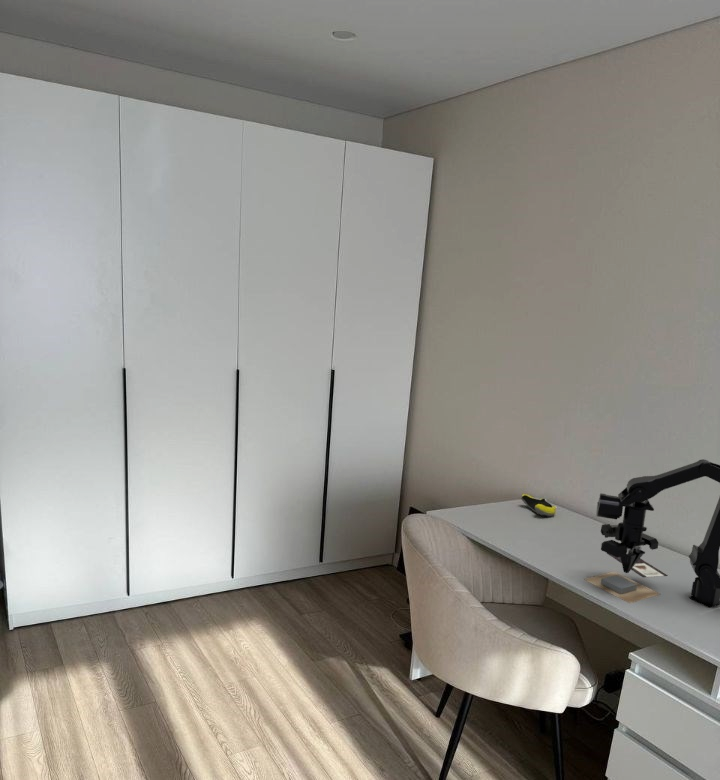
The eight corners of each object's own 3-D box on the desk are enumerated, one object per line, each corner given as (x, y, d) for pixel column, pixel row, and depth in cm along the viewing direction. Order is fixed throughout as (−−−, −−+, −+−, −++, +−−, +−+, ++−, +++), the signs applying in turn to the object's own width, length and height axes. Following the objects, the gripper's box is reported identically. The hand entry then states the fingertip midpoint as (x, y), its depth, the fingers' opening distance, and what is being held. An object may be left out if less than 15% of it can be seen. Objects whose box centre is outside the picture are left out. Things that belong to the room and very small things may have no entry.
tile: (637, 584, 189) (621, 588, 185) (636, 590, 189) (620, 594, 186) (617, 574, 195) (601, 578, 191) (616, 580, 195) (600, 584, 192)
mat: (660, 595, 188) (660, 594, 188) (629, 604, 181) (629, 603, 181) (614, 572, 202) (614, 571, 201) (583, 580, 194) (583, 579, 194)
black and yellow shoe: (536, 519, 246) (560, 519, 248) (537, 505, 245) (561, 505, 247) (518, 506, 260) (540, 505, 262) (519, 492, 259) (542, 492, 262)
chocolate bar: (629, 551, 218) (667, 575, 201) (629, 554, 218) (667, 578, 201) (606, 553, 216) (643, 576, 199) (606, 555, 216) (642, 579, 199)
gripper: (630, 509, 200) (623, 557, 203) (589, 516, 191) (582, 566, 193) (662, 521, 191) (655, 571, 193) (621, 529, 181) (613, 582, 184)
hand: (626, 572), depth 191 cm, fingers closed
